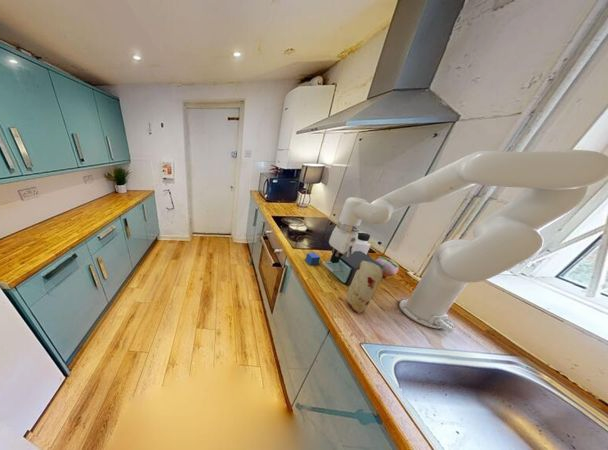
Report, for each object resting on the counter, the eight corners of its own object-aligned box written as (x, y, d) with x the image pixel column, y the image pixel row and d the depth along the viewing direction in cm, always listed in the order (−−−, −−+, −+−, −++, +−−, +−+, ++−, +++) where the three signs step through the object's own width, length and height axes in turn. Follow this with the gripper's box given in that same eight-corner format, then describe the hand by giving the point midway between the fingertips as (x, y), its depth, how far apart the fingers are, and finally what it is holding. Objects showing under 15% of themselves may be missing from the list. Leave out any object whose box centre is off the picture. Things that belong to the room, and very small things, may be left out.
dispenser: (347, 285, 89) (354, 267, 85) (328, 268, 101) (334, 252, 97) (375, 283, 91) (383, 266, 87) (354, 266, 103) (360, 251, 99)
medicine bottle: (366, 255, 113) (374, 237, 108) (352, 253, 114) (360, 235, 109) (360, 249, 119) (367, 231, 114) (347, 247, 120) (354, 230, 115)
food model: (340, 296, 83) (356, 256, 75) (357, 298, 82) (376, 258, 74) (350, 314, 74) (369, 272, 66) (370, 318, 73) (392, 275, 65)
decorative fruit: (397, 277, 95) (406, 260, 91) (389, 283, 91) (398, 265, 87) (374, 267, 103) (382, 250, 98) (366, 271, 99) (374, 254, 95)
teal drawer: (332, 283, 89) (337, 269, 85) (316, 268, 99) (320, 255, 96) (369, 281, 91) (376, 267, 88) (350, 266, 101) (356, 253, 98)
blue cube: (318, 264, 103) (320, 257, 102) (310, 264, 103) (312, 257, 101) (313, 259, 108) (315, 252, 106) (305, 259, 107) (307, 252, 105)
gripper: (370, 234, 77) (353, 271, 85) (342, 219, 91) (330, 252, 99) (353, 235, 76) (338, 272, 84) (327, 219, 90) (316, 253, 98)
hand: (334, 261), depth 91 cm, fingers closed
